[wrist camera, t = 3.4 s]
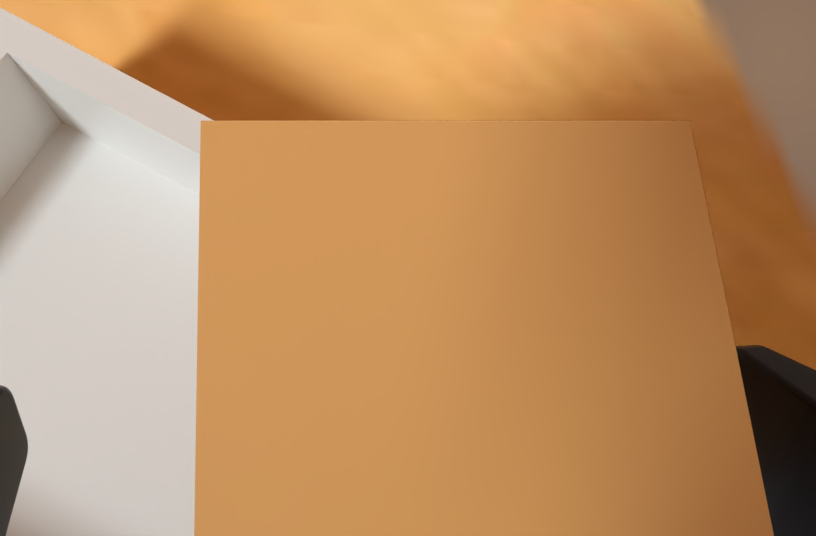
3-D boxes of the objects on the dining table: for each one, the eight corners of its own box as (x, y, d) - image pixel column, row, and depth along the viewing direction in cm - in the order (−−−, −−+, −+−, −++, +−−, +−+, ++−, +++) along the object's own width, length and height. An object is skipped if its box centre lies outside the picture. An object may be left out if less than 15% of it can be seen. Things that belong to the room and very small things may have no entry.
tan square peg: (433, 496, 15) (796, 646, 4) (293, 508, 15) (192, 724, 3) (423, 358, 16) (690, 120, 4) (290, 365, 15) (200, 119, 4)
